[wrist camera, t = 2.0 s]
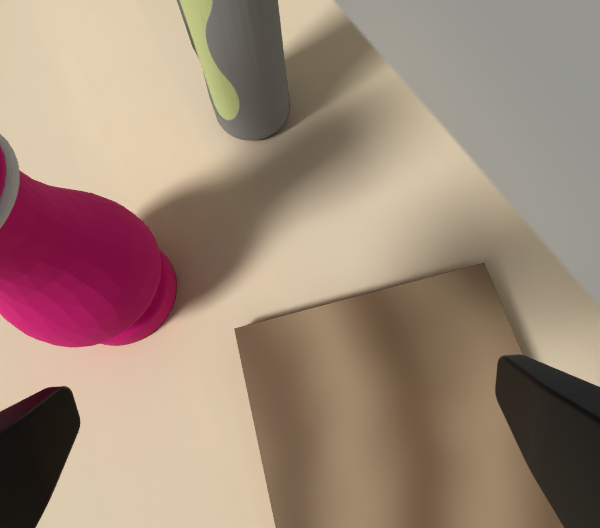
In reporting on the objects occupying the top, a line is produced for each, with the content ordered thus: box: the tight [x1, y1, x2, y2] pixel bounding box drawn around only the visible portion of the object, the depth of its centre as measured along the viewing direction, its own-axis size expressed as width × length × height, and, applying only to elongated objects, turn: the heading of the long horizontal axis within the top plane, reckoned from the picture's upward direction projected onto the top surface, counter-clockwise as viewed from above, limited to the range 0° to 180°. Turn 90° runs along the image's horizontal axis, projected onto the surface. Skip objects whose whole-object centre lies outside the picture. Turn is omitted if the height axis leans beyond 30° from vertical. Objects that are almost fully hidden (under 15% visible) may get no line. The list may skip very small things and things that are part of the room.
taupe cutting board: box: [235, 263, 564, 528], centre depth 20 cm, size 14×14×1 cm
